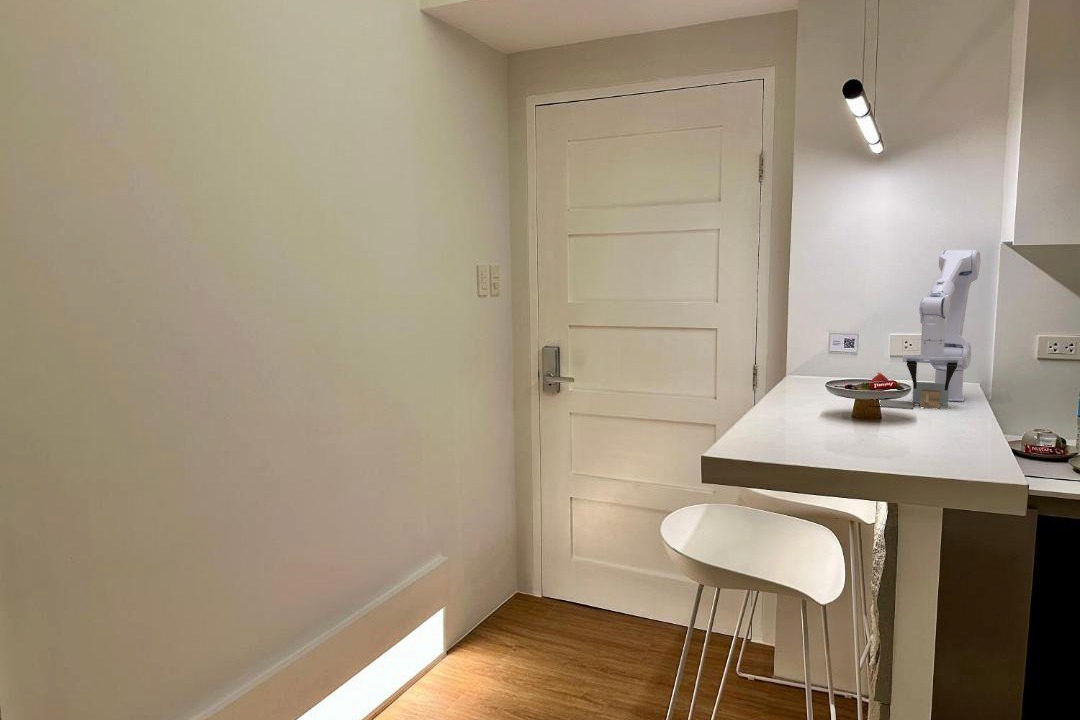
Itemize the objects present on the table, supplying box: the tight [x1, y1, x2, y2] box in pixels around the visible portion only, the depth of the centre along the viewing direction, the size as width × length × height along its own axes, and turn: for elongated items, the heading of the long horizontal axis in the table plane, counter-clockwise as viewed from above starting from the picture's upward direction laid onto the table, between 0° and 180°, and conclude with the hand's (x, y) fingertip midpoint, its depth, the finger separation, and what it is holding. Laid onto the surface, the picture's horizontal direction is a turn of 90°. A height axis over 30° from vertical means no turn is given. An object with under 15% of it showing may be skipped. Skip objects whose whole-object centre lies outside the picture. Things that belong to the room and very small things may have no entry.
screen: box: [911, 381, 949, 406], centre depth 215 cm, size 3×9×6 cm, turn 62°
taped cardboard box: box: [919, 389, 940, 410], centre depth 210 cm, size 5×5×5 cm
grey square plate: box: [880, 399, 915, 410], centre depth 214 cm, size 11×11×1 cm
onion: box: [869, 371, 890, 383], centre depth 224 cm, size 6×6×8 cm
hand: (930, 389), depth 209 cm, fingers open, 7 cm apart
